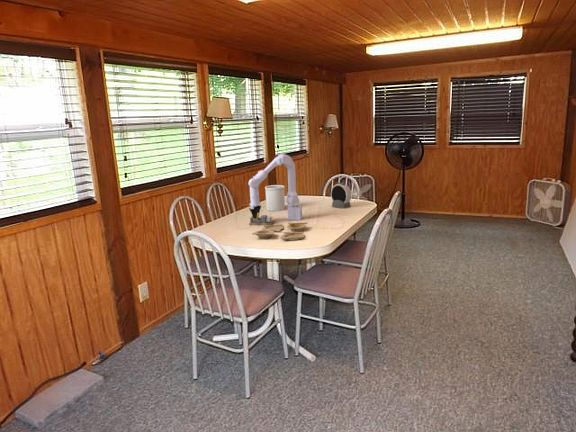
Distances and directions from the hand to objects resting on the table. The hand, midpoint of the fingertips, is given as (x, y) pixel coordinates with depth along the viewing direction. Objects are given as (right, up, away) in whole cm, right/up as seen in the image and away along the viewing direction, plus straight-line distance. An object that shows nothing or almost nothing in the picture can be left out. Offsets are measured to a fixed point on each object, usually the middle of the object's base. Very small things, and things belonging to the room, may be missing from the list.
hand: (256, 217), depth 275 cm
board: (+4, -4, 0) cm, 6 cm away
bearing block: (+5, -4, 0) cm, 7 cm away
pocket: (+1, -4, +1) cm, 4 cm away
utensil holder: (+12, +6, +42) cm, 44 cm away
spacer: (0, -2, 0) cm, 2 cm away
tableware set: (+17, -10, -26) cm, 33 cm away
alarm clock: (+61, +8, +41) cm, 74 cm away
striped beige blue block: (+7, -3, -1) cm, 8 cm away
